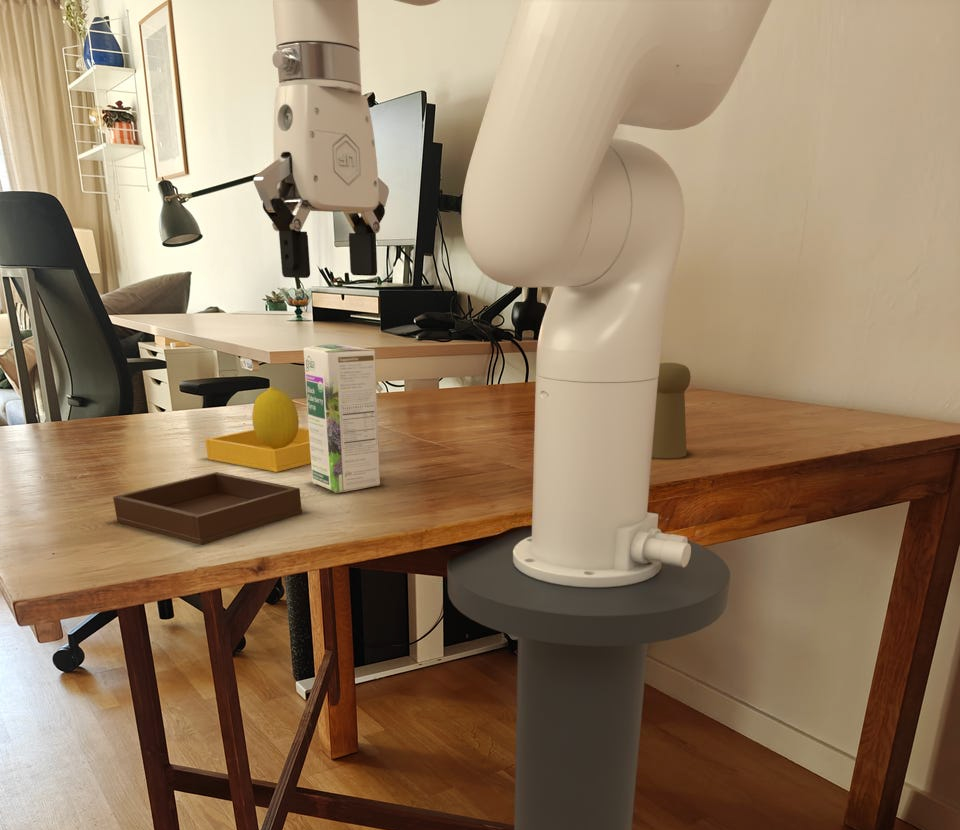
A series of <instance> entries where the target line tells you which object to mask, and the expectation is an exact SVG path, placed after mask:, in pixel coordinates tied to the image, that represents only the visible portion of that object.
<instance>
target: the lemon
mask: <svg viewBox="0 0 960 830" xmlns="http://www.w3.org/2000/svg"><path fill="white" fill-rule="evenodd" d="M251 415H252V416H251V417H252V418H251V420H252V426H253V427H252V428H253V429H254V431H255V433H256V435H257V437H258V438H259V440H260V441H261V442H262V443H263V444H265V445H266V446H269V447H271V448H272V449H279V448H283V447H286V446H288V445H289V444H291V443H292V442H293V440H294V439H295V437H296V435H297V432H298V427H300V426H299V425H300V424H299V422H300V421H299V420H300V419H299V416H298V415H299V414H298V409H297V407H296V405H295V403H294V401H293V399H292V398H291V397H290V395H289V394H287V393H285V392H284V391H281V390H280V389H278V388H277V387H276V386H270V387H269V388H267V390H265V391H263V392H261V393H260V394H259V395H258V396H257V398H256V399H255V401H254V402H253V407H252V413H251Z"/></svg>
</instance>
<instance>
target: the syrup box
mask: <svg viewBox="0 0 960 830" xmlns="http://www.w3.org/2000/svg"><path fill="white" fill-rule="evenodd" d="M303 361H304V362H303V363H304V375H305V377H304V378H305V392H306V407H307V408H306V409H307V423H308V424H307V425H308V429H309V439H310V453H311V463H310V464H311V467H310V468H311V478H312V479H311V480H312V484H313V485H318V486H320V487H322V488H324V489H327V490H329V491H332V492H333V493H335V494H340V493H344V492H345V493H346V492H350V491H357V490H363V489H367V488H371V487H377V486H380V485H381V473H380V472H381V470H380V449H379V448H380V447H379V420H378V419H379V418H378V397H377V394H378V393H377V373H376V372H377V371H376V369H377V368H376V350H375V349H374V348H366V347H365V348H364V347H358V346H351V345H346V344H316V345H311V346H306V347H303Z"/></svg>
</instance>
